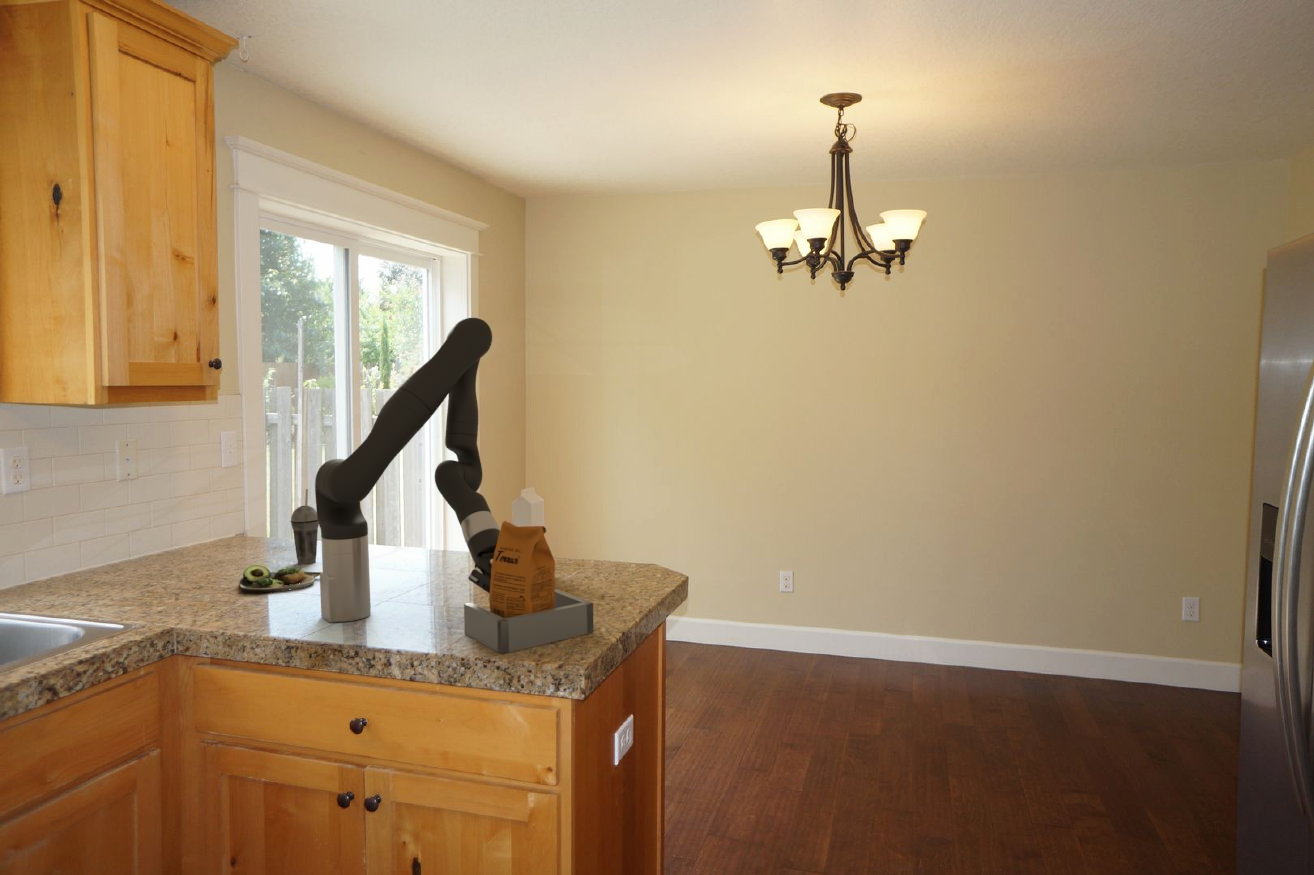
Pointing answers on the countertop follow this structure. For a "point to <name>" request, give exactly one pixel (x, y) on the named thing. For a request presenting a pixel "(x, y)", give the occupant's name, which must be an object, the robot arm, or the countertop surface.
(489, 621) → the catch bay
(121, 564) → the countertop surface
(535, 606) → the coffee package
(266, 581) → the salad plate
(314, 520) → the beverage cup
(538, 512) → the milk
